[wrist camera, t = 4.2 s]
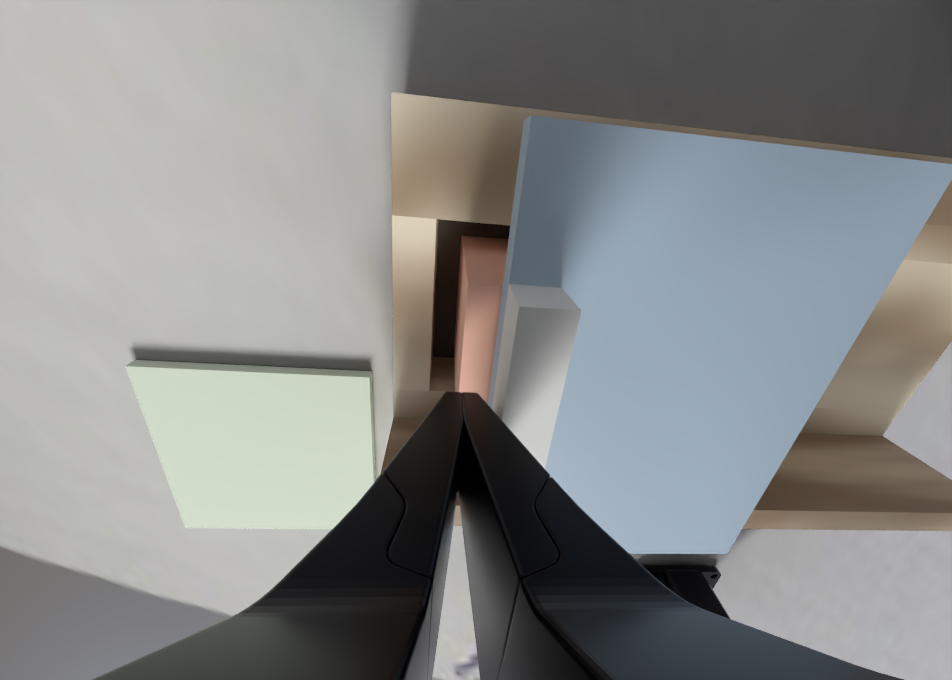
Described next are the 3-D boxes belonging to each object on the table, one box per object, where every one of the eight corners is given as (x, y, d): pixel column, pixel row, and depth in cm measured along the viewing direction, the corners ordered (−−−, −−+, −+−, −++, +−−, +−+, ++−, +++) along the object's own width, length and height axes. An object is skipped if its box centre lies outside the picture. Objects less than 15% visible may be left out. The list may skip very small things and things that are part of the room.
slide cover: (712, 533, 14) (756, 596, 12) (471, 531, 13) (474, 598, 11) (916, 165, 8) (1061, 166, 6) (524, 119, 7) (549, 104, 5)
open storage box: (809, 428, 22) (970, 547, 15) (401, 412, 20) (375, 544, 13) (967, 170, 16) (1351, 177, 9) (403, 105, 14) (354, 50, 7)
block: (553, 345, 18) (606, 439, 12) (454, 339, 18) (455, 435, 12) (573, 244, 16) (650, 296, 10) (461, 235, 16) (467, 283, 9)
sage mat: (377, 521, 23) (375, 529, 23) (191, 519, 22) (185, 528, 22) (371, 371, 18) (369, 377, 18) (135, 360, 17) (125, 366, 17)
